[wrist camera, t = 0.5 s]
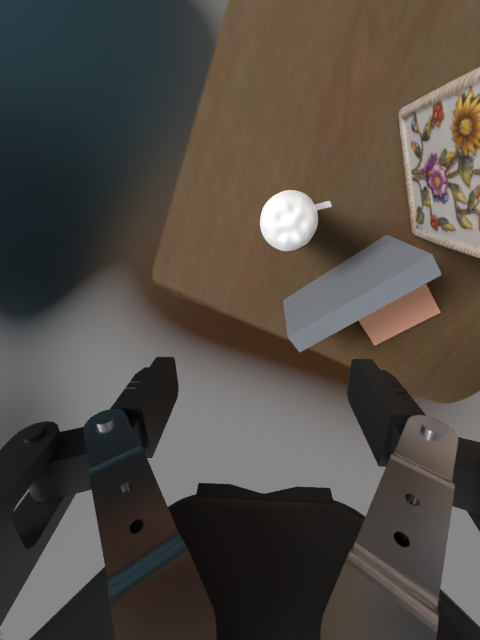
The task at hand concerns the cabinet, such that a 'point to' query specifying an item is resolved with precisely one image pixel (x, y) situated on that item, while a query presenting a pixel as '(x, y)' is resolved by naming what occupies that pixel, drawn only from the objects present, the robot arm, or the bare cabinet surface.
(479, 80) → the decorative jar
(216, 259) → the cabinet surface
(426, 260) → the screen
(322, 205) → the milkshake
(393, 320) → the mat
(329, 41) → the cabinet surface
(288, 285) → the cabinet surface
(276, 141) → the cabinet surface
